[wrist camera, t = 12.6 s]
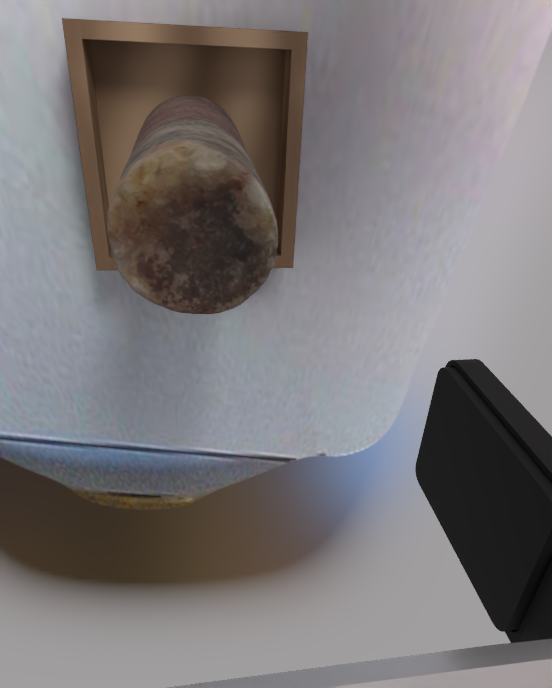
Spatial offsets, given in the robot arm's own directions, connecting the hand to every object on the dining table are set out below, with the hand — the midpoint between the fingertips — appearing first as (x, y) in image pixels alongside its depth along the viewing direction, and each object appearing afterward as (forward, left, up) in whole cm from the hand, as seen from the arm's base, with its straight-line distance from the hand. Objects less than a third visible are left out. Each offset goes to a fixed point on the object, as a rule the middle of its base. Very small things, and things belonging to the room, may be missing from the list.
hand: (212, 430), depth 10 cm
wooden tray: (0, 0, -33) cm, 33 cm away
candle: (0, 0, -33) cm, 33 cm away
